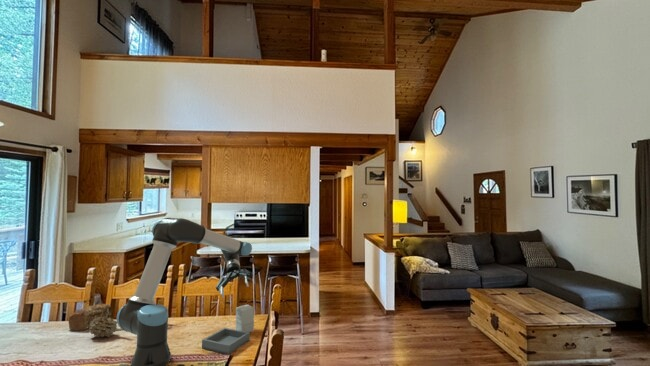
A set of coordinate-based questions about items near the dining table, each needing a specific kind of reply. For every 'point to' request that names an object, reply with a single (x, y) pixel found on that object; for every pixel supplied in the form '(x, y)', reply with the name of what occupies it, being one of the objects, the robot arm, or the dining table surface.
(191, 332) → the dining table surface
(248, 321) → the supplement box
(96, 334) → the pine cone
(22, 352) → the dining table surface
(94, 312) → the bread
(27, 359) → the dining table surface
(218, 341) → the box
